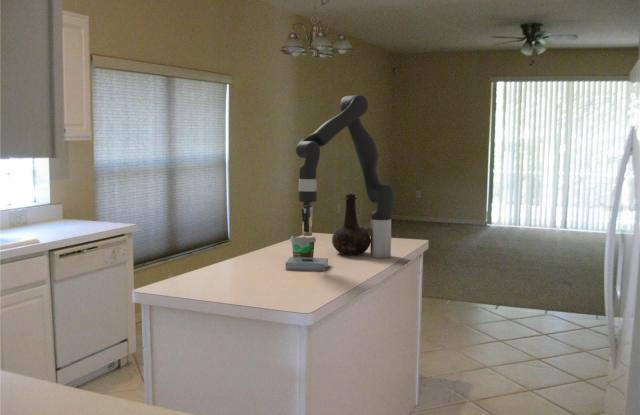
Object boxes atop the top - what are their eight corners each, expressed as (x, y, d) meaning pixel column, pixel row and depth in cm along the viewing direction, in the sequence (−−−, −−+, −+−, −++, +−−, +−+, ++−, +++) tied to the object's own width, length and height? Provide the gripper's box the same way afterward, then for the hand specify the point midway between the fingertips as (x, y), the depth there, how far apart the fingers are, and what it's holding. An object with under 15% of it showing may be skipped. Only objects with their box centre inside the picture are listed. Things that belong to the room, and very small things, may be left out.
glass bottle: (376, 255, 294) (377, 195, 291) (341, 258, 287) (341, 196, 284) (360, 249, 310) (360, 192, 307) (326, 251, 304) (326, 193, 301)
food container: (285, 258, 285) (285, 236, 284) (292, 256, 291) (292, 234, 289) (309, 261, 279) (309, 238, 278) (315, 259, 285) (316, 236, 284)
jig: (328, 265, 271) (328, 258, 271) (324, 270, 259) (324, 263, 259) (291, 263, 273) (291, 257, 273) (285, 269, 262) (285, 262, 261)
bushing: (312, 234, 267) (312, 215, 266) (311, 236, 263) (311, 216, 262) (303, 234, 267) (303, 215, 266) (301, 235, 263) (301, 216, 262)
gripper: (314, 191, 255) (313, 233, 257) (319, 188, 269) (318, 229, 271) (295, 191, 256) (295, 233, 258) (301, 188, 270) (301, 228, 272)
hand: (307, 230), depth 265 cm, fingers closed on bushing, 4 cm apart
